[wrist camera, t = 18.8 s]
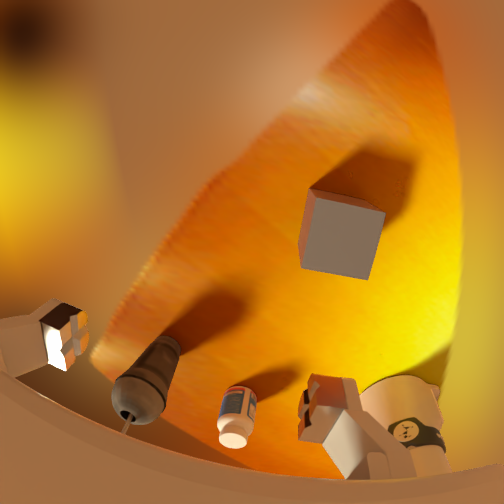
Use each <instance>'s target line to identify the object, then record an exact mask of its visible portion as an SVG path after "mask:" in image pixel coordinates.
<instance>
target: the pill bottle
mask: <svg viewBox="0 0 504 504" xmlns="http://www.w3.org/2000/svg"><path fill="white" fill-rule="evenodd" d="M256 403H257V398H256V395H255V393H254V392H253V391H252V390H251V389H249V388H247V387H244V386H234V387H231V388H229V389H227V390H226V392H225V394H224V397H223V401H222V405H221V410H220V414H219V418H218V423H217V426H218V429H219V431H220V436H219V441H220V442H221V444H223V445H224V446H226V447H229V448H242V447H244V446H245V445H246V444H247V439H248V436H249V435H250V434H251V433H252V431H253V427H254V420H255V411H256Z"/></svg>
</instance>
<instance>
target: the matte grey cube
mask: <svg viewBox="0 0 504 504" xmlns="http://www.w3.org/2000/svg"><path fill="white" fill-rule="evenodd" d="M385 215H386V213H385V212H383V211H382V210H380V209H379V208H377V207H375V206H374V205H372V204H370V203H369V202H367V201H365V200H363V199H358V198H354V197H350V196H345V195H341V194H336V193H331V192H327V191H322V190H317V189H312V188H309V191H308V196H307V201H306V206H305V211H304V216H303V221H302V226H301V231H300V236H299V241H298V248H299V256H300V263H301V268H303V269H309V270H314V271H320V272H325V273H331V274H336V275H342V276H347V277H353V278H358V279H364V280H368V278H369V274H370V271H371V268H372V264H373V261H374V257H375V254H376V250H377V246H378V243H379V239H380V235H381V231H382V227H383V223H384V219H385Z"/></svg>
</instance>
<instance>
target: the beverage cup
mask: <svg viewBox="0 0 504 504" xmlns="http://www.w3.org/2000/svg"><path fill="white" fill-rule="evenodd" d="M180 353H181V348H180V345H179V344H178V342H177V341H176V340H175V339H173V338H171V337H169V336H159V337H157V338H156V339H155V341H153V342H152V343H151V344H150V345H149V346H148V348H147V349H146V350H145V351H144V352H143V353H142V354H141V356H140V357H139V358H138V359H137V360H136V361H135V362H134V364H133V365H132V366H131V367H130V368H129V369H128V370H127V371H126V372H124V373H123V374H122V375H121V376H119V377H118V378H117V379H116V381H115V384H114V387H113V391H112V403H113V407H114V409H115V411H116V412H117V414H118V415H119V416H120V417H121V418H122V419H124V420H125V421H126V423H125V425H124V428H123V430H122V432H121V433H122V434H125V433H126V431H127V429H128V427H129V424H130V423H132V424H136V425H142V424H148V423H150V422H152V421H154V420H155V419H157V418H158V417H159V416H160V414H161V413H162V412H163V411H164V409H165V407H166V401H167V393H168V390H169V387H170V384H171V381H172V378H173V375H174V372H175V369H176V366H177V364H178V361H179V356H180Z"/></svg>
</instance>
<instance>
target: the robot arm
mask: <svg viewBox="0 0 504 504" xmlns="http://www.w3.org/2000/svg"><path fill="white" fill-rule="evenodd" d="M87 321H88V319H87V314H86V312H85V311H83V310H81V309H79V308H76V307H74V306H72V305H69V304H67V303H64V302H62V301H59V300H57V299H51V300H49V301H48V302H47V303H45V304H44V305H42V306H41V307H40V308H38V309H37V310H36V311H34V312H33V313H31V314H30V315H29V316H27V315H22V316H16V317H11V318H5V319H0V504H504V465H502V464H493V465H488V466H484V467H479V468H474V469H470V470H464V471H459V472H452V470H451V468H450V465H449V463H448V460H447V458H446V455H445V452H446V448H445V445H444V444H445V443H444V440H443V437H442V436H441V434H440V432H439V431H440V429H441V427H442V424H443V417H442V414H441V411H440V409H439V406H438V404H437V400H438V397H439V394H440V389H439V386H437V385H432V384H427V383H426V382H424V381H423V380H422V379H420V378H418V377H416V376H411V375H400V376H394V377H390V378H387V379H384V380H382V381H380V382H378V383H376V384H374V385H372V386H371V387H369V388H368V389H366V390H365V391H364V392H363V393H362V394H361V395H360V396H359V393H358V389H357V385H356V381H355V380H354V379H352V378H343V377H340V378H339V377H333V376H326V375H320V374H314V373H312V374H311V376H310V378H309V380H308V389H306V390H304V391H303V394H302V396H301V399H300V403H299V408H298V417H299V418H300V419H301V421H300V423H299V425H298V440H300V441H307V442H314V443H322V445H323V447H324V448H325V450H326V451H327V453H328V454H329V455H330V457H331V458H332V460H333V461H334V463H335V464H336V466H337V467H338V469H339V470H340V471H341V473H342V474H343V476H344V477H345V479H346V480H343V479H322V478H309V477H298V476H289V475H281V474H273V473H267V472H260V471H254V470H248V469H243V468H238V467H233V466H228V465H223V464H219V463H215V462H211V461H206V460H202V459H199V458H195V457H191V456H187V455H184V454H181V453H177V452H174V451H171V450H167V449H164V448H161V447H158V446H155V445H152V444H149V443H146V442H144V441H141V440H138V439H135V438H133V437H130V436H127V435H125V434H122V433H120V432H117V431H115V430H112V429H110V428H108V427H105V426H103V425H101V424H98V423H96V422H94V421H92V420H90V419H87V418H85V417H83V416H81V415H79V414H77V413H75V412H73V411H71V410H69V409H67V408H65V407H63V406H61V405H59V404H57V403H56V402H54V401H52V400H50V399H48V398H46V397H45V396H43V395H41V394H39V393H38V392H36V391H34V390H33V389H31V388H29V387H28V386H26V385H24V384H23V383H21V382H20V381H18V380H16V379H15V378H14V377H17V376H19V375H22V374H24V373H27V372H29V371H32V370H34V369H37V368H39V367H42V366H44V365H47V364H48V363H50V364H52V365H55V366H56V367H59V368H61V369H63V370H65V371H67V369H68V368H69V367H70V366H71V365H72V364H73V363H74V362H75V356H76V355H80V354H82V353H83V352H84V350H85V349H86V347H87V344H88V340H89V331H88V330H87V328H86V326H85V324H86V323H87Z"/></svg>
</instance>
